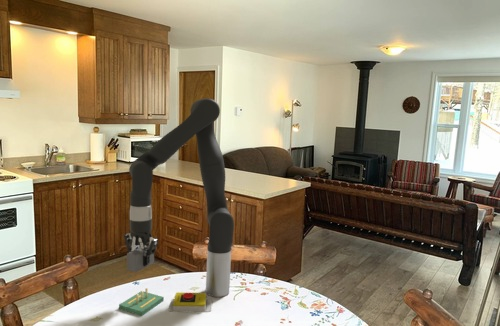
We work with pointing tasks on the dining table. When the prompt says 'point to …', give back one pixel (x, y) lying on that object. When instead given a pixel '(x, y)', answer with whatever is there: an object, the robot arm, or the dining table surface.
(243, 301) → the dining table surface
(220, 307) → the dining table surface
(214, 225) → the robot arm
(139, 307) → the header board
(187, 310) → the emergency button
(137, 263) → the block
